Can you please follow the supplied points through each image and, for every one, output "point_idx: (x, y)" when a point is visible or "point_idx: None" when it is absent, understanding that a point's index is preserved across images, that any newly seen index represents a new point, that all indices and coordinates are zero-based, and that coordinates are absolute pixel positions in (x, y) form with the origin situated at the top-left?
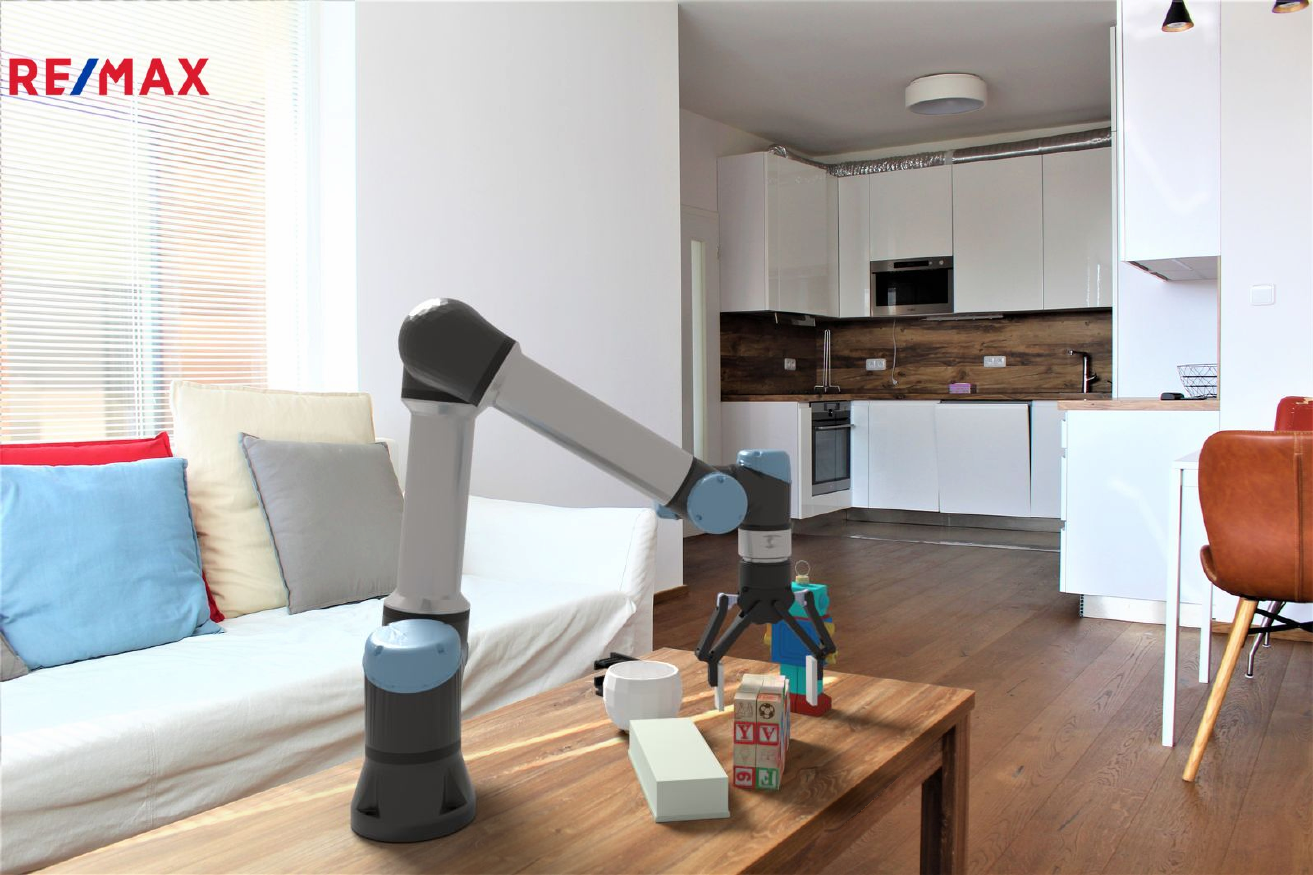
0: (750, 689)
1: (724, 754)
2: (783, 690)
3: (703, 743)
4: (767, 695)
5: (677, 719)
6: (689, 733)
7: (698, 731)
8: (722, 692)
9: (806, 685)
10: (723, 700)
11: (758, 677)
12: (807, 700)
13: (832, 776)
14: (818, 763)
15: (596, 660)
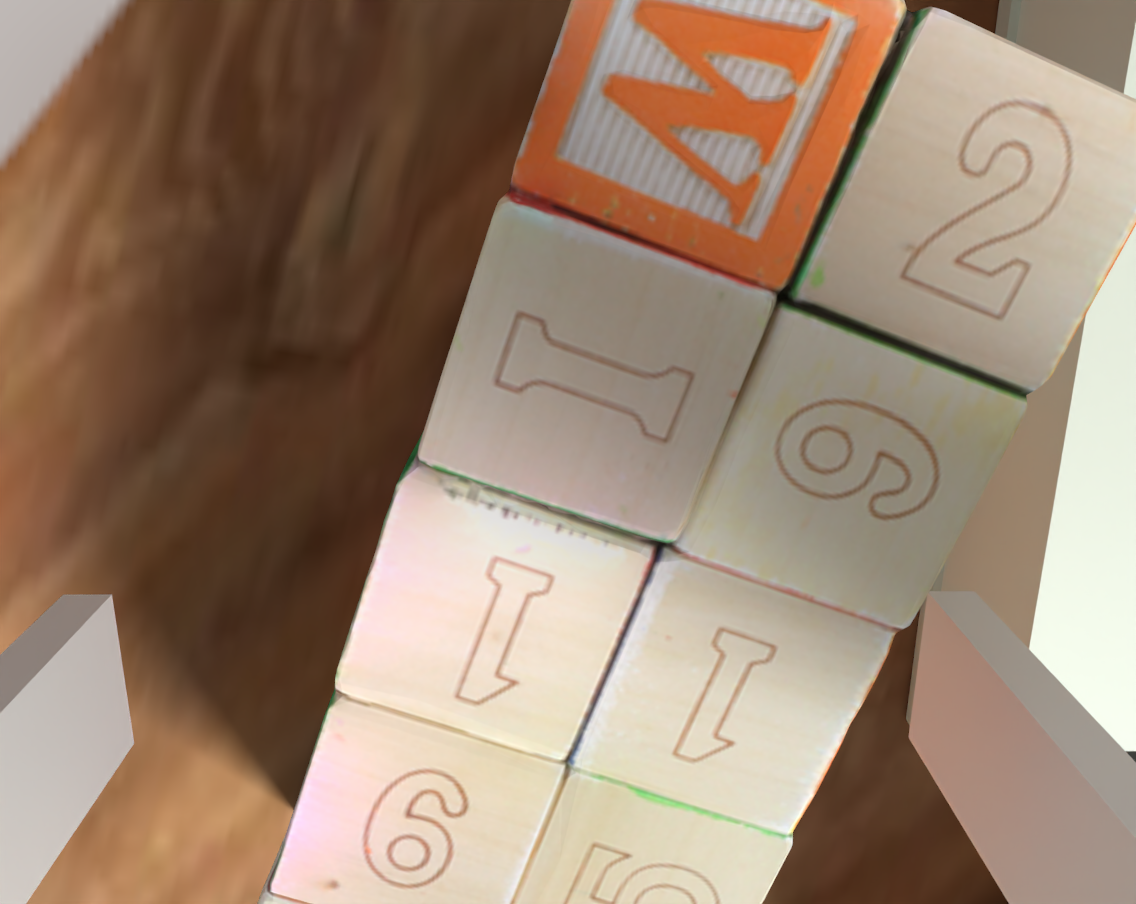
0: (839, 456)
1: None
2: (408, 460)
3: (1111, 307)
4: (695, 207)
5: None
6: (1127, 535)
7: (1046, 567)
8: (1022, 678)
9: (72, 827)
10: (975, 637)
11: (592, 870)
12: (127, 716)
13: (187, 194)
14: (224, 419)
15: None
